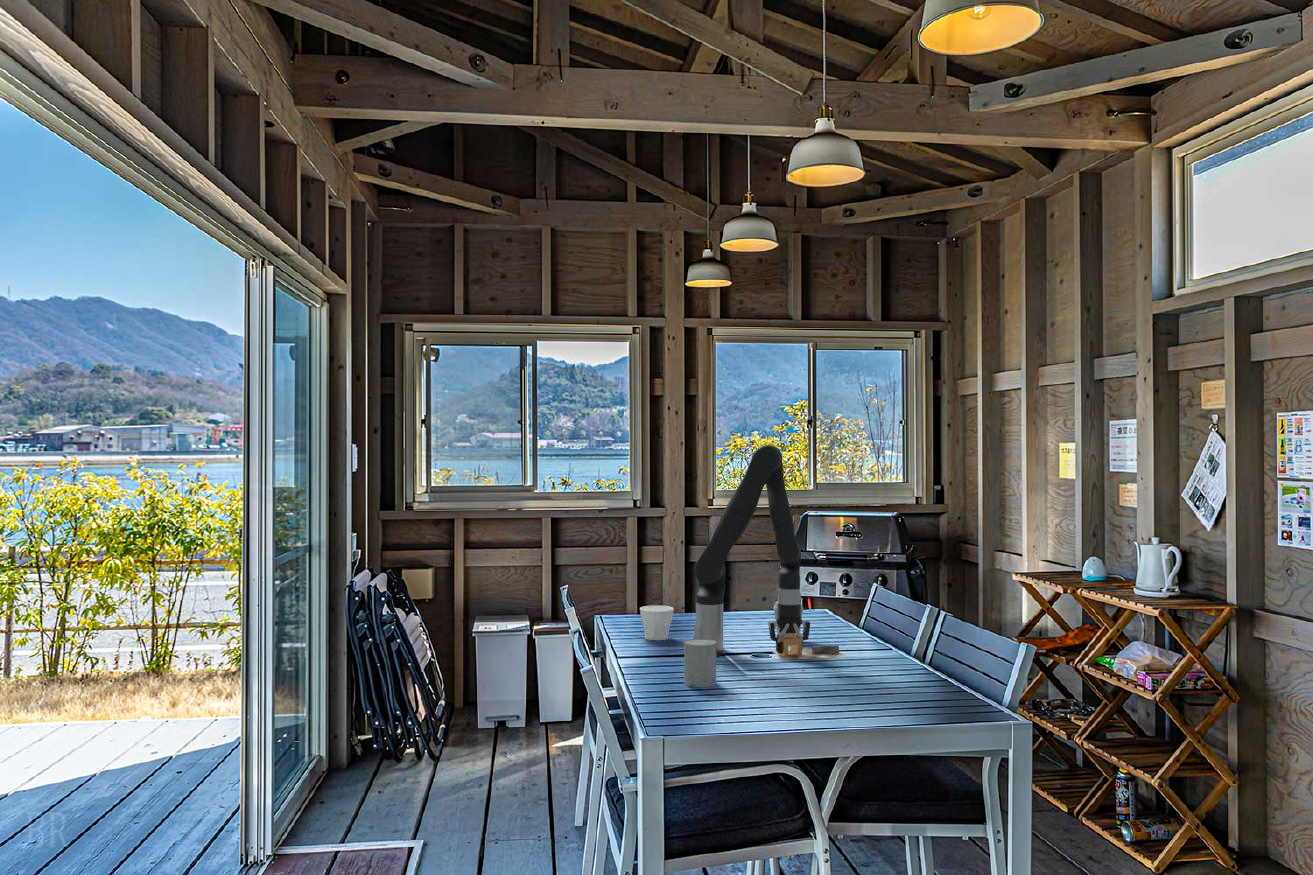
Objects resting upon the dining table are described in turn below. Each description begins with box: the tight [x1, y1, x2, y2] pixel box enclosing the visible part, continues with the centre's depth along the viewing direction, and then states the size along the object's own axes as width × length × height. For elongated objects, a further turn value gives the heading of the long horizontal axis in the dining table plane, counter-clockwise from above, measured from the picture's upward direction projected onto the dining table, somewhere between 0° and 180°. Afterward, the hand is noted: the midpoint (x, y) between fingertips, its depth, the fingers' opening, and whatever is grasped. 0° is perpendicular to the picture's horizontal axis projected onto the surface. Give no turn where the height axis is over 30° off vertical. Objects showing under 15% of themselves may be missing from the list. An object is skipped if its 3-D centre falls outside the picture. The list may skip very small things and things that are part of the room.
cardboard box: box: [777, 634, 802, 658], centre depth 310 cm, size 8×6×6 cm
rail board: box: [771, 644, 848, 660], centre depth 311 cm, size 22×12×4 cm, turn 100°
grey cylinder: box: [683, 638, 717, 688], centre depth 278 cm, size 10×10×12 cm
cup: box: [639, 605, 675, 641], centre depth 343 cm, size 12×12×11 cm
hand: (789, 652), depth 310 cm, fingers closed on cardboard box, 6 cm apart
